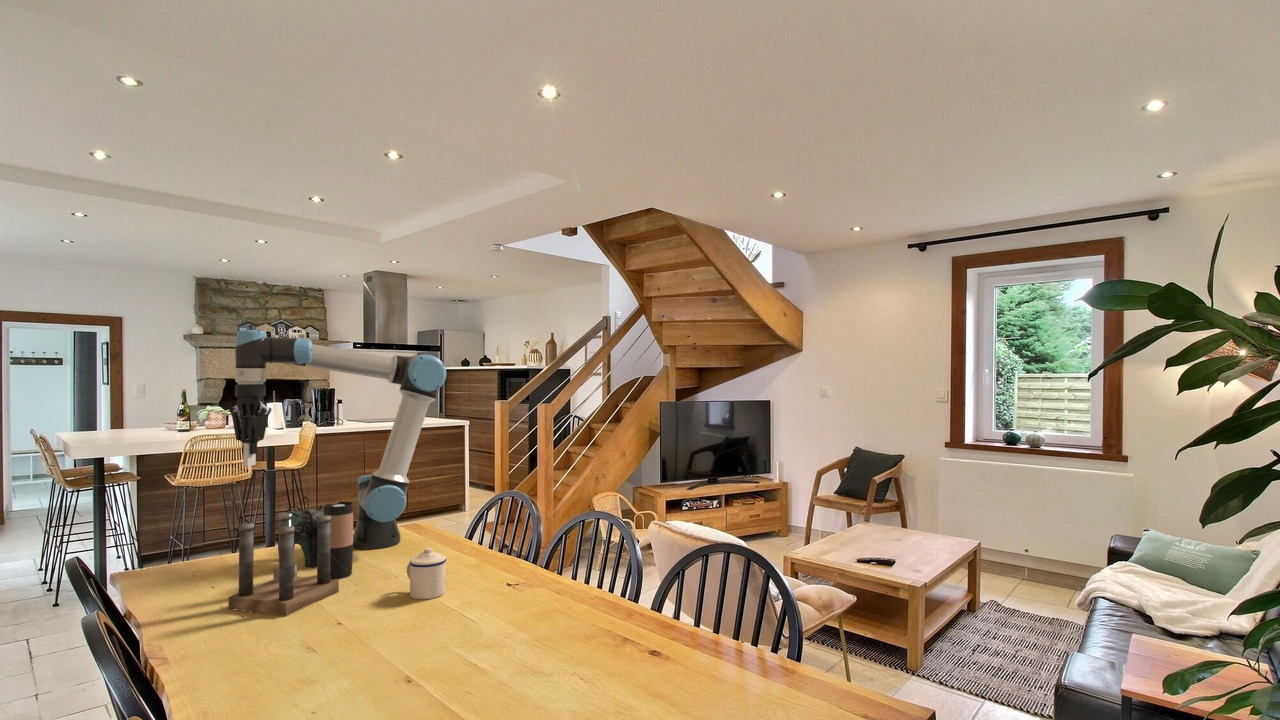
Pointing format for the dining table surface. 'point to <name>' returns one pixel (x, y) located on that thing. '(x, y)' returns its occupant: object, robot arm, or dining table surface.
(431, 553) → the teacup with lid
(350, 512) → the travel mug
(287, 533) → the stool
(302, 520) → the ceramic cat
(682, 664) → the dining table surface
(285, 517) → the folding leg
